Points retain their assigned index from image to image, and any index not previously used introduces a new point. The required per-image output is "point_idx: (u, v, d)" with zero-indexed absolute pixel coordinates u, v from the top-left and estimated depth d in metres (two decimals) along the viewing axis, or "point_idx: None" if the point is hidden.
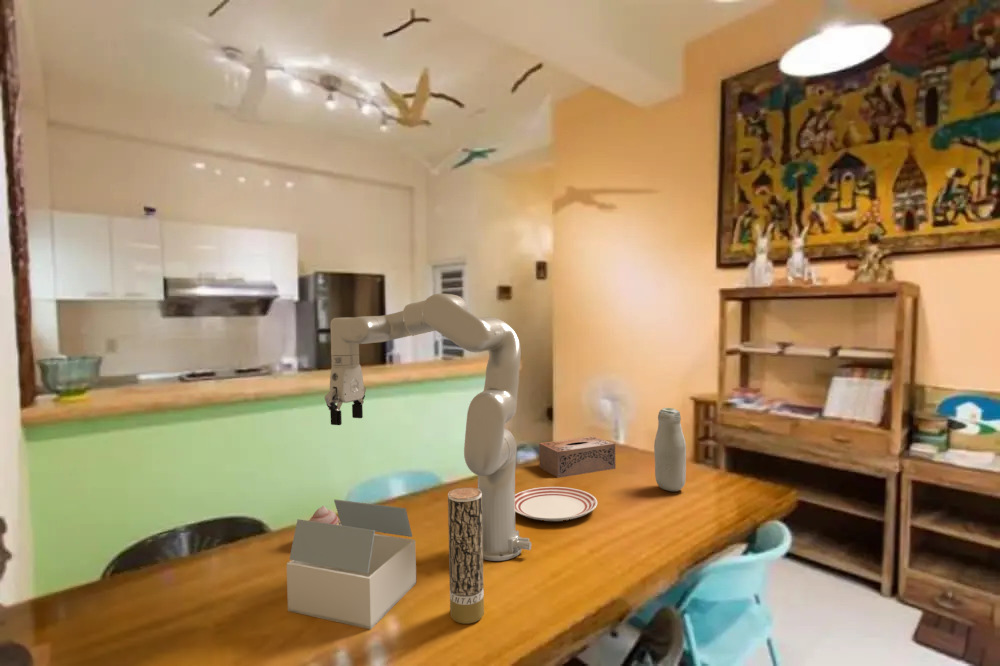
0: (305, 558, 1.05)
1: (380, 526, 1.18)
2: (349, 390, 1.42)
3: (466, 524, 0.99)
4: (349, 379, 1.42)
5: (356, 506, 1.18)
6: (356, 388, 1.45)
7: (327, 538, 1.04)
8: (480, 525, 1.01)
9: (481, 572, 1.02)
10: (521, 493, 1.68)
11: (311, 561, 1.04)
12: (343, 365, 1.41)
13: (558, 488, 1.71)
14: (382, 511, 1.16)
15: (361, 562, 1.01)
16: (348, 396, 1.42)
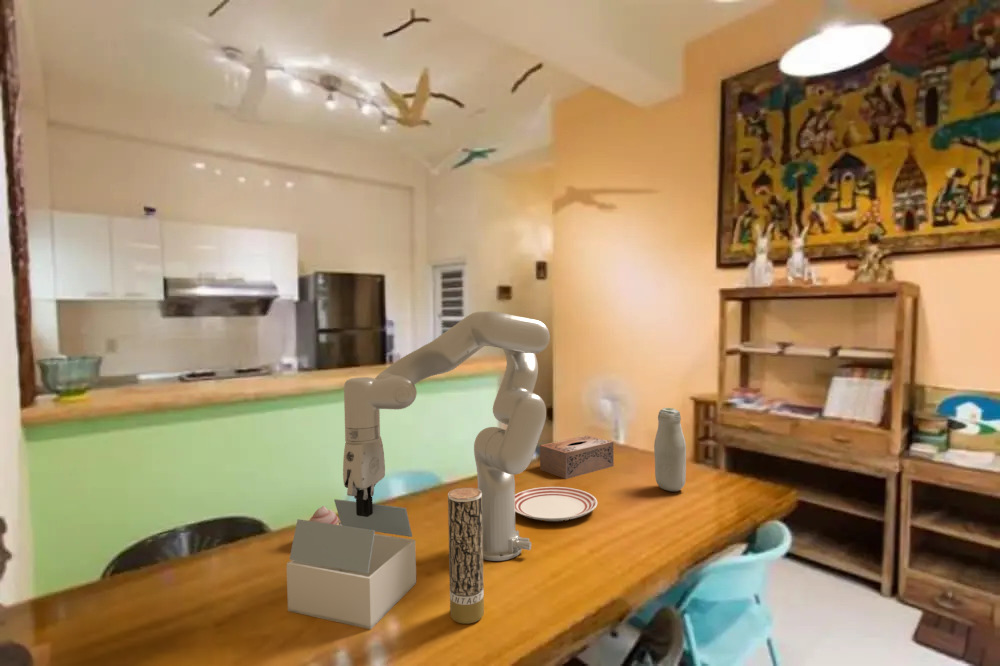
0: (305, 558, 1.05)
1: (380, 526, 1.18)
2: (368, 472, 1.11)
3: (466, 524, 0.99)
4: (368, 458, 1.11)
5: None
6: (376, 468, 1.14)
7: (327, 538, 1.04)
8: (480, 525, 1.01)
9: (481, 572, 1.02)
10: (521, 493, 1.68)
11: (311, 561, 1.04)
12: (360, 441, 1.10)
13: (558, 488, 1.71)
14: (382, 511, 1.16)
15: (361, 562, 1.01)
16: (366, 480, 1.11)
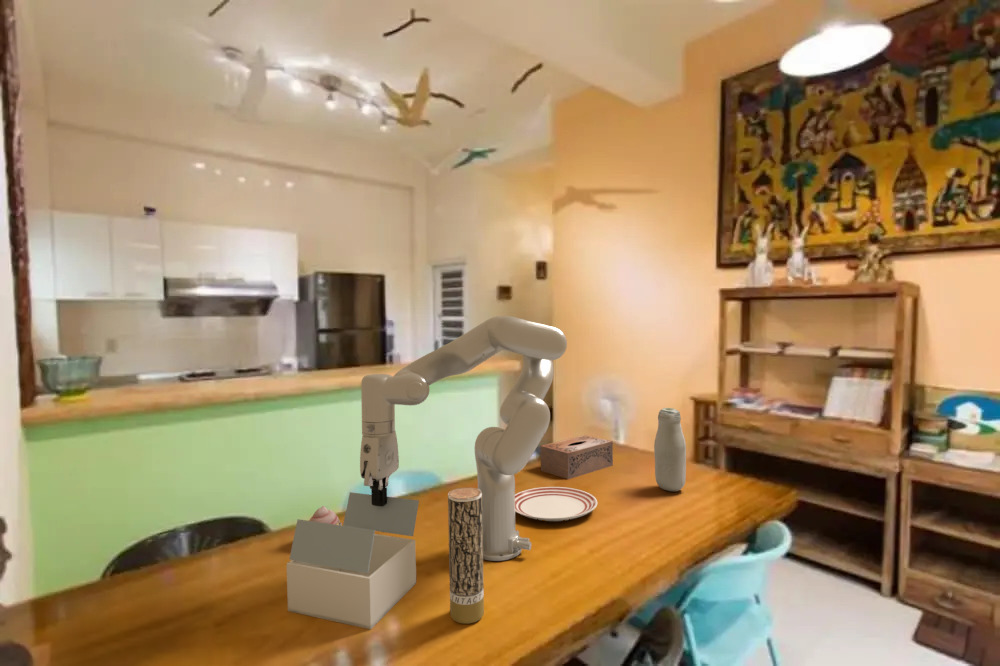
0: (305, 558, 1.05)
1: (384, 523, 1.19)
2: (383, 464, 1.17)
3: (466, 524, 1.00)
4: (384, 451, 1.17)
5: (369, 498, 1.23)
6: (391, 460, 1.20)
7: (327, 538, 1.04)
8: (480, 525, 1.01)
9: (481, 572, 1.02)
10: (521, 493, 1.68)
11: (311, 561, 1.04)
12: (377, 434, 1.16)
13: (558, 488, 1.71)
14: (394, 504, 1.20)
15: (361, 562, 1.01)
16: (382, 471, 1.17)
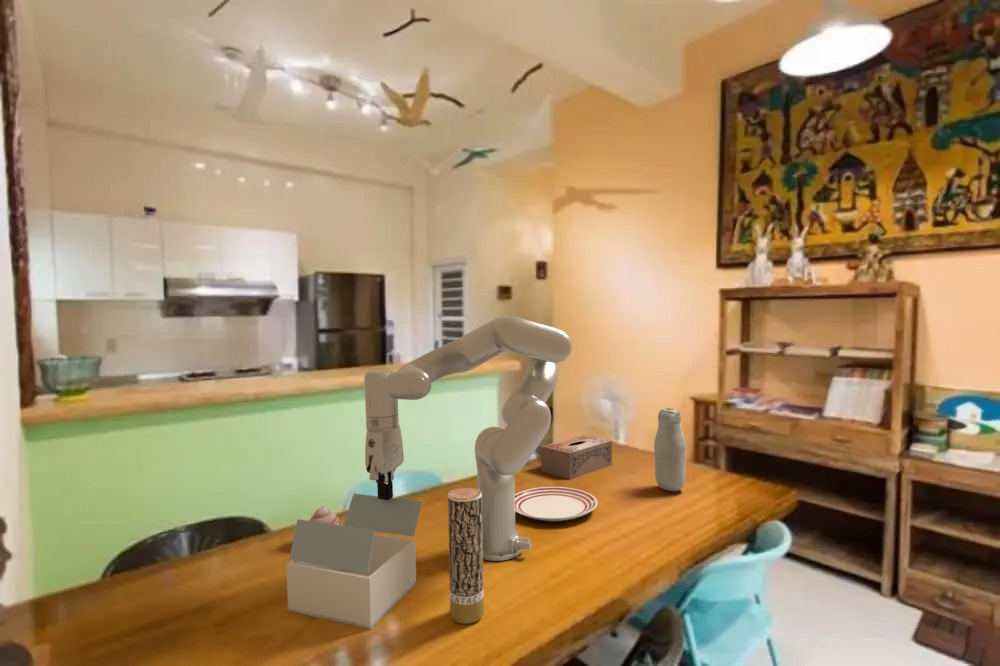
0: (305, 558, 1.05)
1: (385, 523, 1.20)
2: (388, 458, 1.19)
3: (466, 524, 0.99)
4: (388, 445, 1.19)
5: (372, 499, 1.24)
6: (395, 454, 1.22)
7: (327, 538, 1.04)
8: (480, 525, 1.01)
9: (481, 572, 1.02)
10: (521, 493, 1.68)
11: (311, 561, 1.04)
12: (381, 429, 1.18)
13: (558, 488, 1.71)
14: (396, 505, 1.22)
15: (361, 562, 1.01)
16: (387, 465, 1.18)
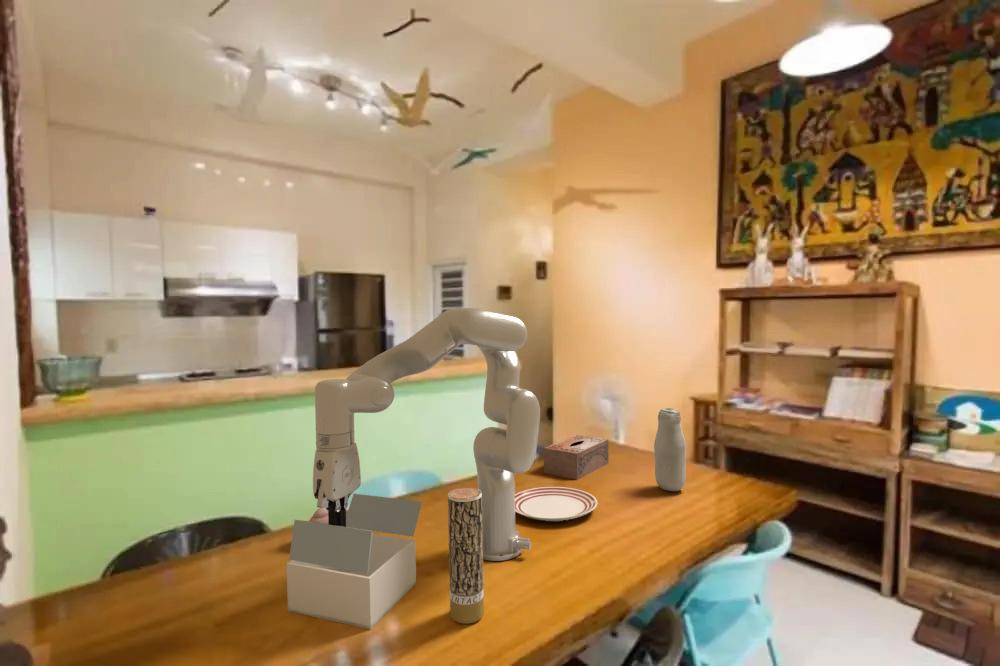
0: (305, 559, 1.05)
1: (385, 523, 1.20)
2: (340, 482, 1.02)
3: (466, 524, 0.99)
4: (340, 467, 1.02)
5: (373, 499, 1.24)
6: (350, 477, 1.05)
7: (325, 538, 1.04)
8: (480, 525, 1.01)
9: (481, 572, 1.02)
10: (521, 493, 1.68)
11: (311, 561, 1.04)
12: (332, 448, 1.02)
13: (558, 488, 1.71)
14: (397, 505, 1.22)
15: (360, 562, 1.00)
16: (338, 491, 1.02)
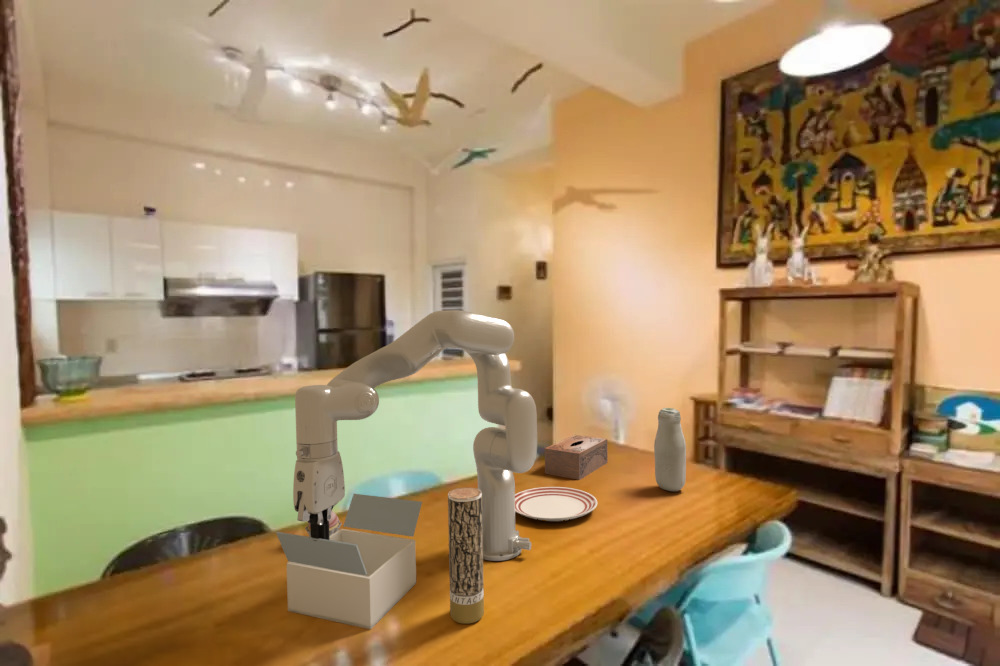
0: (302, 561, 1.04)
1: (385, 523, 1.20)
2: (322, 494, 0.97)
3: (466, 524, 0.99)
4: (322, 478, 0.97)
5: (373, 499, 1.24)
6: (333, 488, 1.00)
7: (314, 548, 1.01)
8: (480, 525, 1.01)
9: (481, 572, 1.02)
10: (521, 493, 1.68)
11: (309, 564, 1.04)
12: (313, 458, 0.96)
13: (558, 488, 1.71)
14: (397, 505, 1.22)
15: (356, 567, 0.99)
16: (320, 503, 0.97)
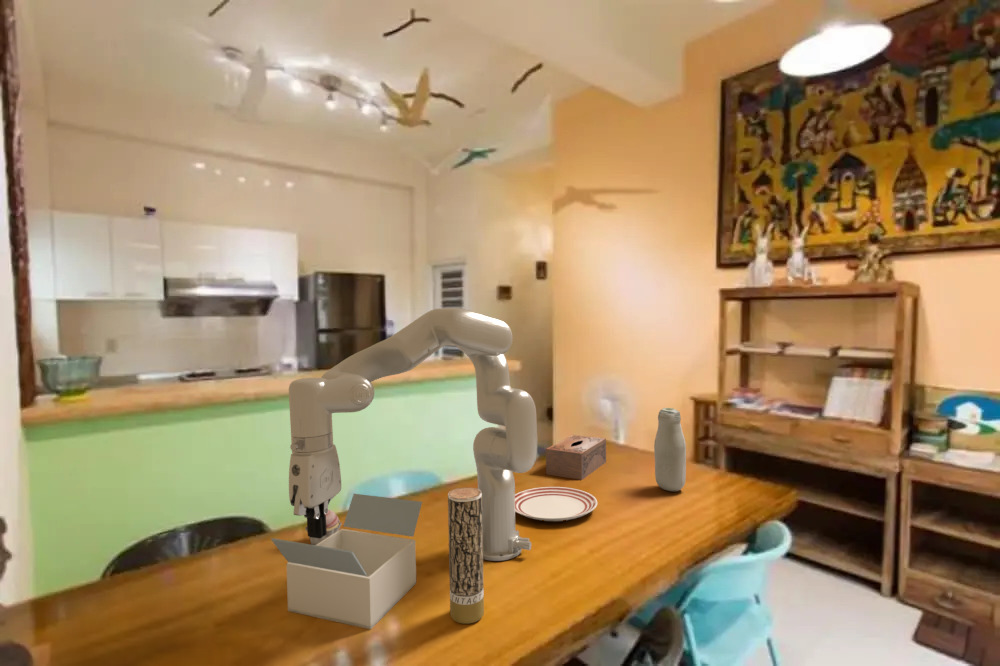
0: (302, 562, 1.04)
1: (385, 523, 1.20)
2: (318, 488, 0.96)
3: (466, 524, 0.99)
4: (318, 472, 0.96)
5: (373, 499, 1.24)
6: (329, 482, 0.99)
7: (311, 553, 1.00)
8: (480, 525, 1.01)
9: (481, 572, 1.02)
10: (521, 493, 1.68)
11: (309, 564, 1.03)
12: (308, 452, 0.95)
13: (558, 488, 1.71)
14: (397, 505, 1.22)
15: (355, 569, 0.99)
16: (316, 497, 0.95)
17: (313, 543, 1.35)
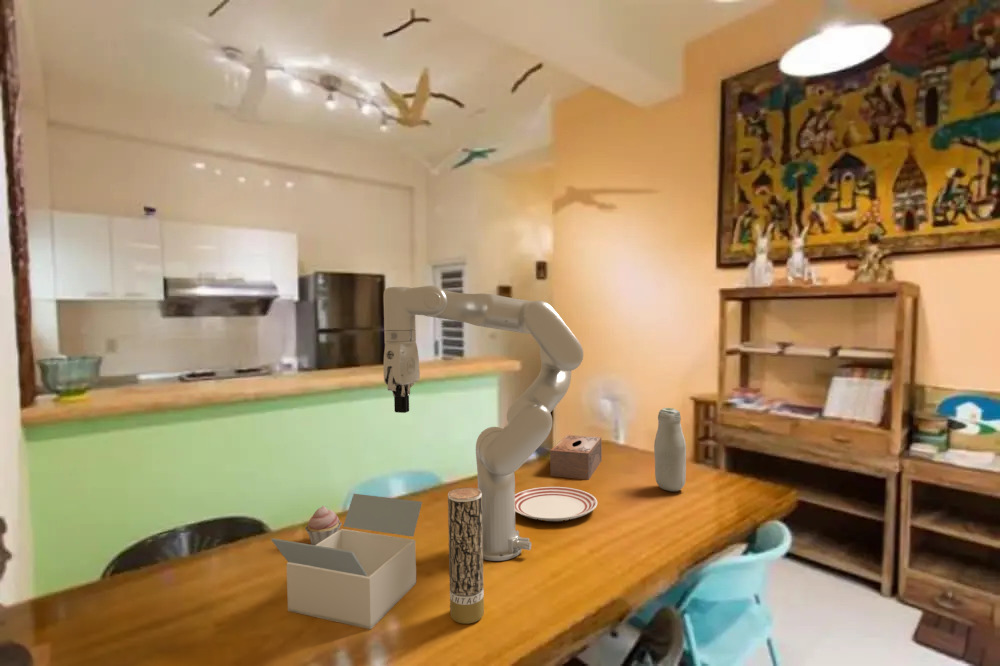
0: (302, 562, 1.04)
1: (385, 523, 1.20)
2: (406, 371, 1.23)
3: (466, 524, 0.99)
4: (406, 358, 1.23)
5: (373, 499, 1.24)
6: (412, 369, 1.26)
7: (311, 553, 1.00)
8: (480, 525, 1.01)
9: (481, 572, 1.02)
10: (521, 493, 1.68)
11: (309, 564, 1.03)
12: (399, 341, 1.22)
13: (558, 488, 1.71)
14: (397, 505, 1.22)
15: (355, 569, 0.99)
16: (404, 377, 1.22)
17: (313, 543, 1.35)
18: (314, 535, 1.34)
